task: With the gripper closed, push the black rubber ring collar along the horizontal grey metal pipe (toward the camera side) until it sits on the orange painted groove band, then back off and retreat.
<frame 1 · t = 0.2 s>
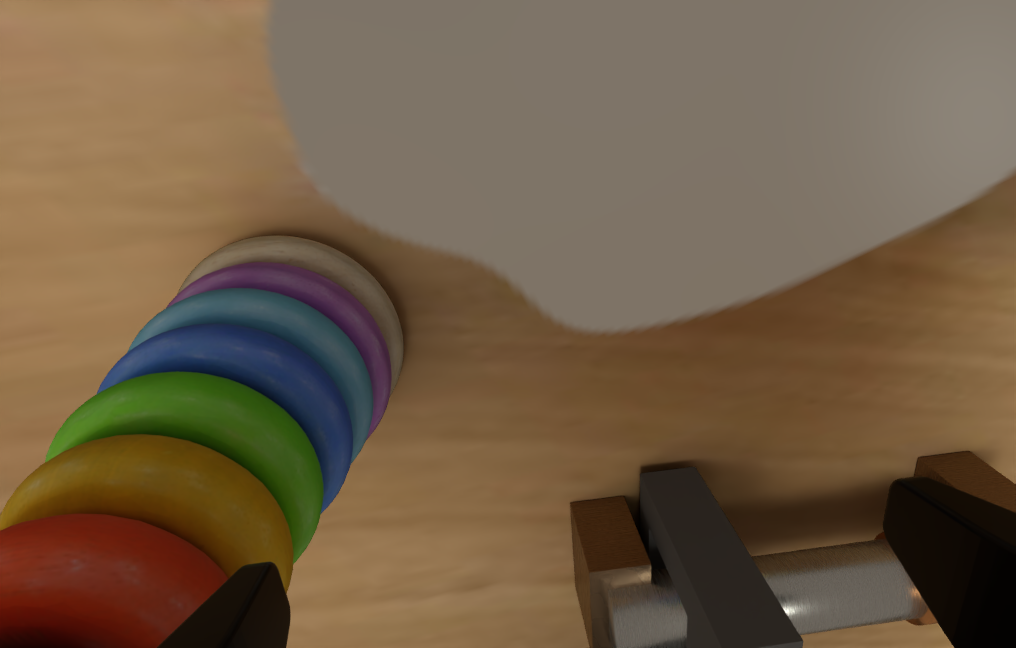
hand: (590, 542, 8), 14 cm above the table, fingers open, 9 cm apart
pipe: (768, 520, 27), on the table
stacking toy: (298, 331, 22), on the table, touching gripper
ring: (702, 621, 23), point 5 cm above the table, slide at 0.0 cm
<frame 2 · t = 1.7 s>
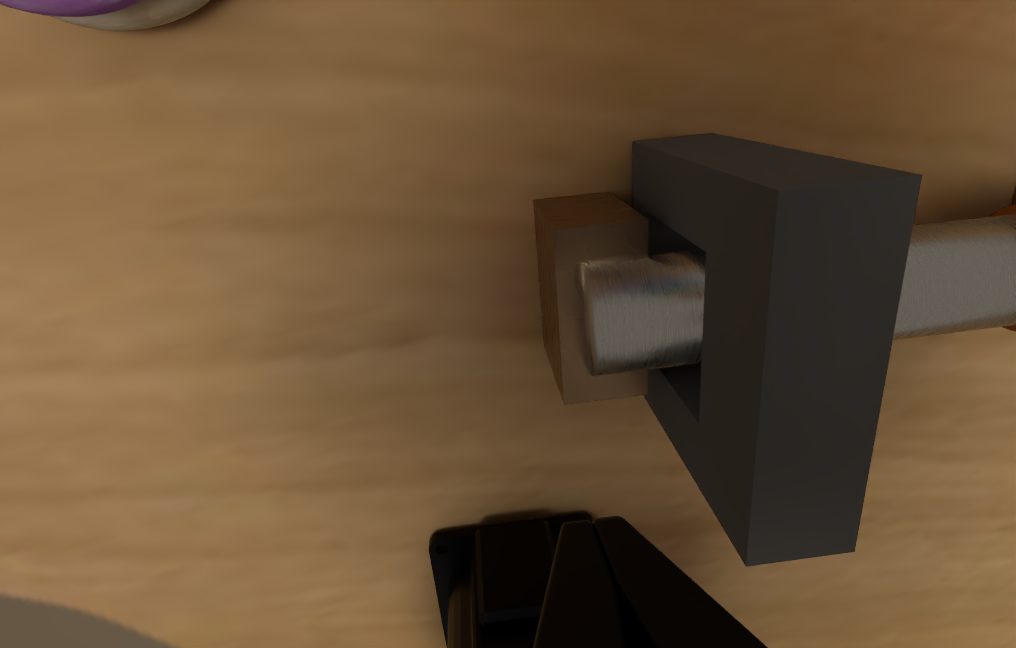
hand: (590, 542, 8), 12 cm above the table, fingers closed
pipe: (812, 245, 20), on the table
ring: (726, 314, 15), point 5 cm above the table, slide at 0.0 cm
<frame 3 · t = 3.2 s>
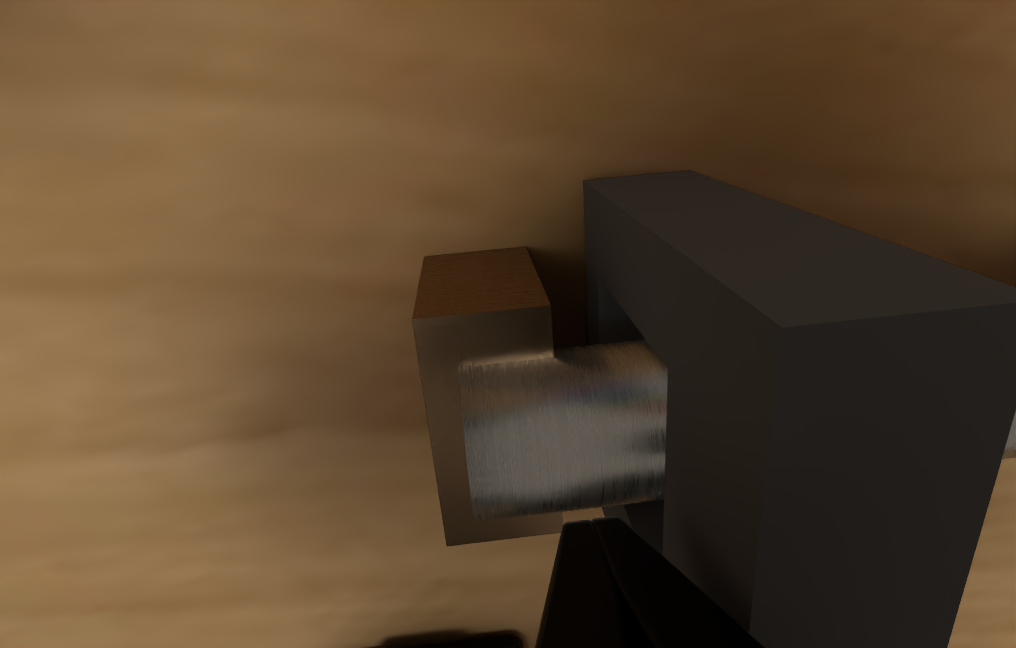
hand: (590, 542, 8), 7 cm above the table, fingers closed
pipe: (793, 315, 15), on the table
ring: (703, 435, 11), point 5 cm above the table, slide at 0.7 cm, touching gripper
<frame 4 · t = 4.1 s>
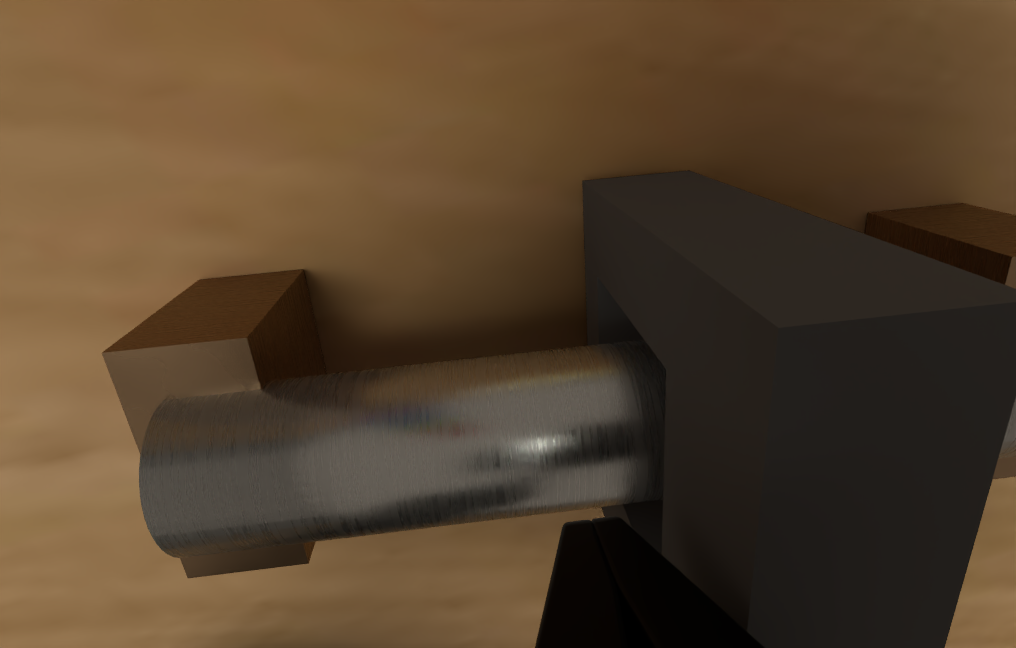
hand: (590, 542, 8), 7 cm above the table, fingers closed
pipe: (594, 336, 15), on the table
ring: (702, 435, 11), point 5 cm above the table, slide at 5.9 cm, touching gripper
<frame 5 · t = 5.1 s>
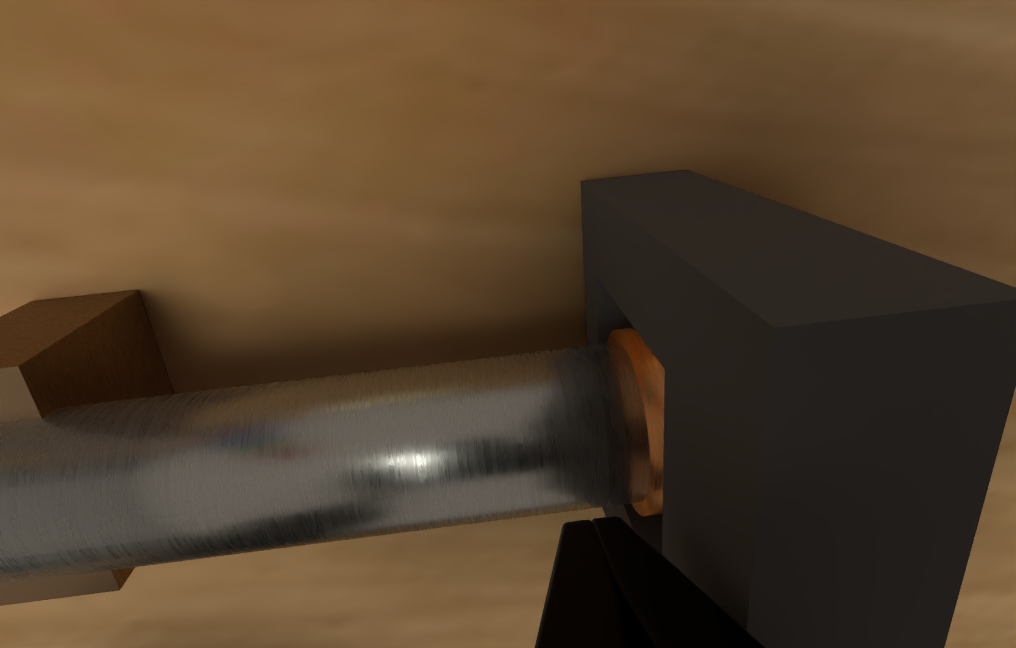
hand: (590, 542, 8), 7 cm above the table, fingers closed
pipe: (446, 353, 15), on the table
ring: (702, 434, 11), point 5 cm above the table, slide at 9.7 cm, touching gripper
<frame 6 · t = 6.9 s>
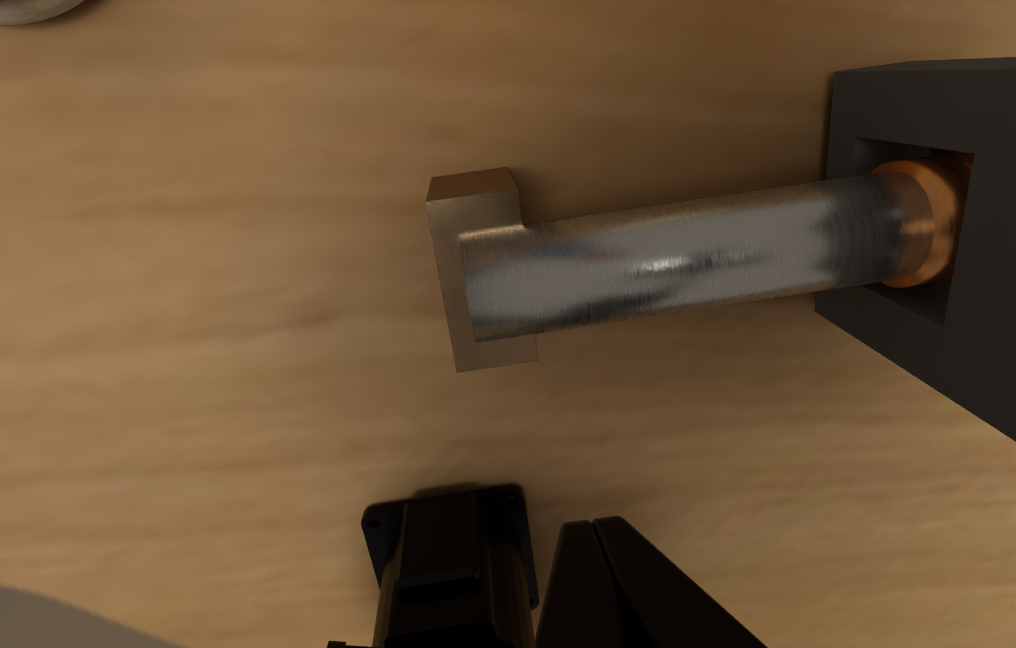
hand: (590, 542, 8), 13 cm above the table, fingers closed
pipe: (712, 213, 20), on the table
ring: (958, 225, 16), point 5 cm above the table, slide at 9.8 cm
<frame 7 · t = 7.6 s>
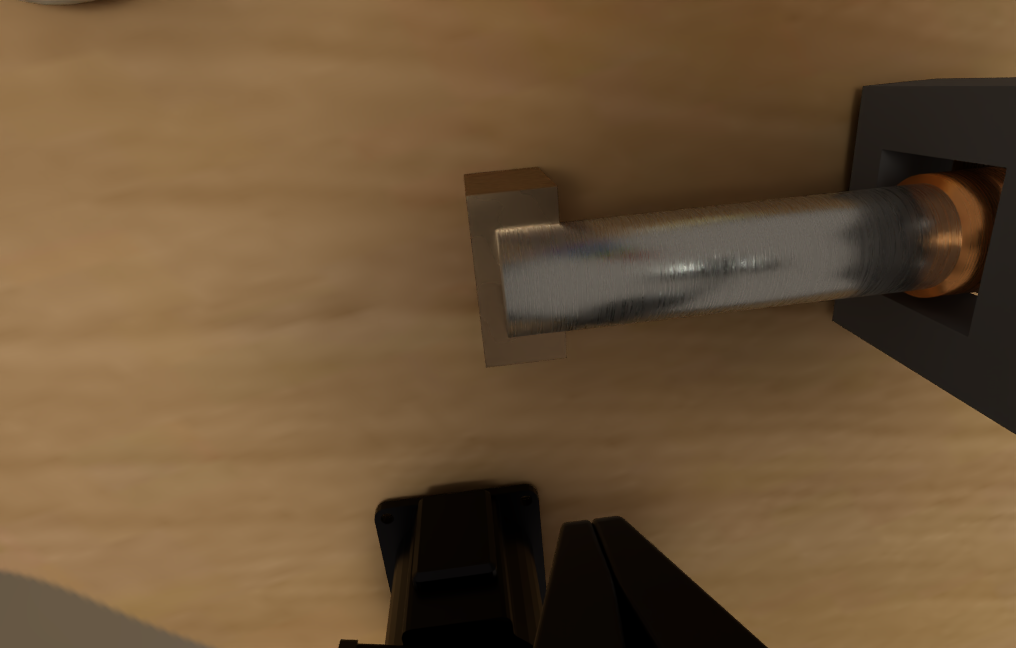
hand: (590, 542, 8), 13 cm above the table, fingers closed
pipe: (737, 220, 20), on the table
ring: (984, 238, 16), point 5 cm above the table, slide at 9.8 cm
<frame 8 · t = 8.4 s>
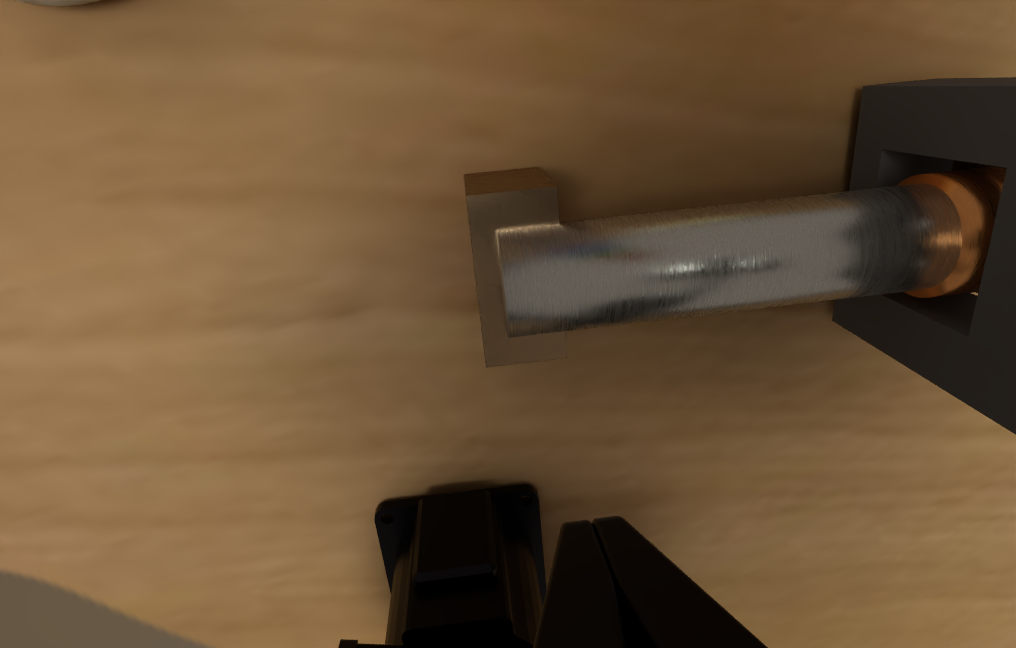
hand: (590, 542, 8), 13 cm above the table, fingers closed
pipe: (737, 220, 20), on the table
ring: (984, 238, 16), point 5 cm above the table, slide at 9.8 cm
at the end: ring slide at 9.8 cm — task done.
